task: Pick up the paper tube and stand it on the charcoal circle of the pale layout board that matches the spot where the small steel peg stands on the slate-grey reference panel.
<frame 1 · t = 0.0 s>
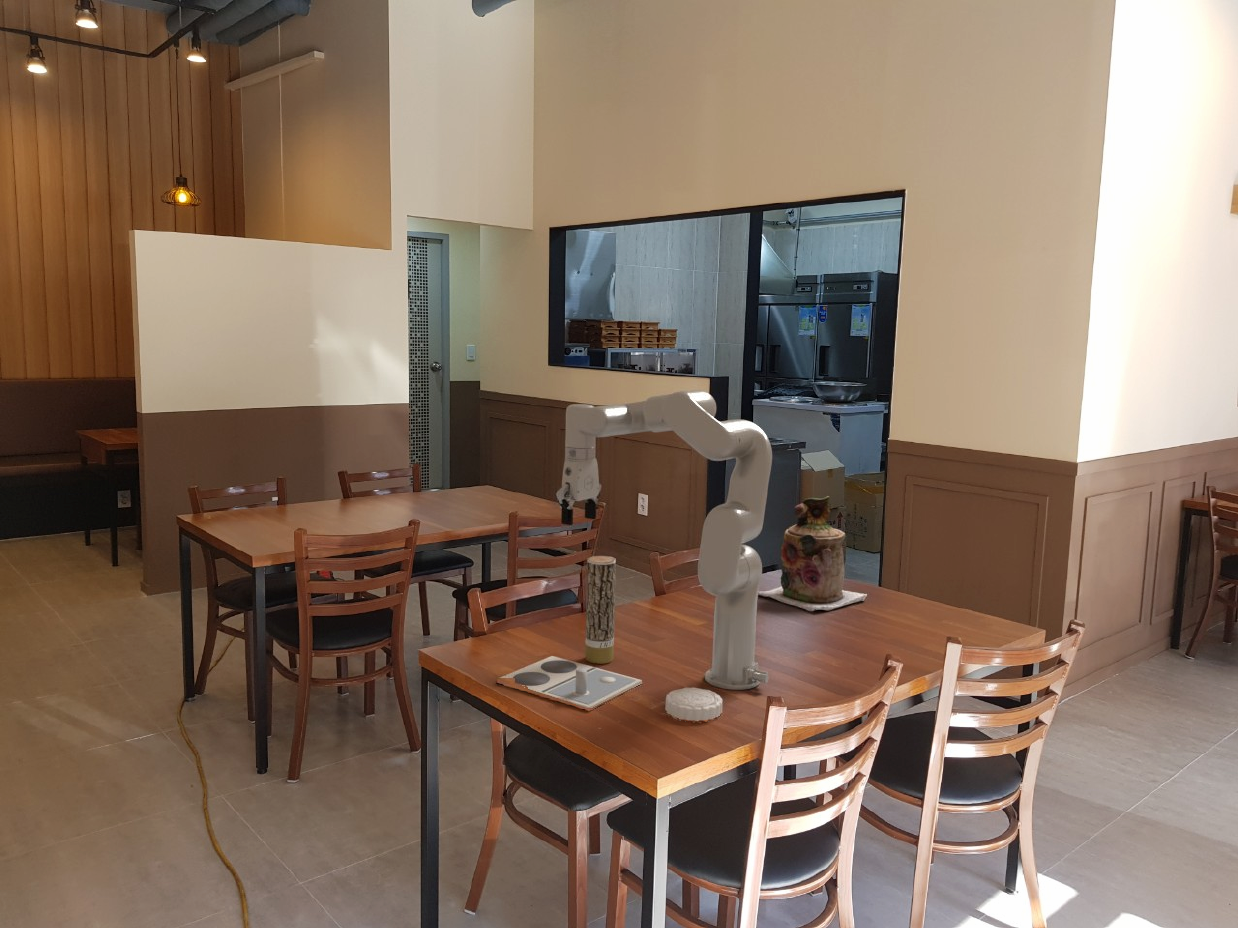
hand: (578, 521, 242), 31 cm above the table, tool pointing down, fingers open, 9 cm apart
cookie jar: (811, 599, 292), on the table
mooncake: (693, 713, 203), on the table
layout board: (569, 683, 216), on the table
paper tube: (599, 660, 232), on the table
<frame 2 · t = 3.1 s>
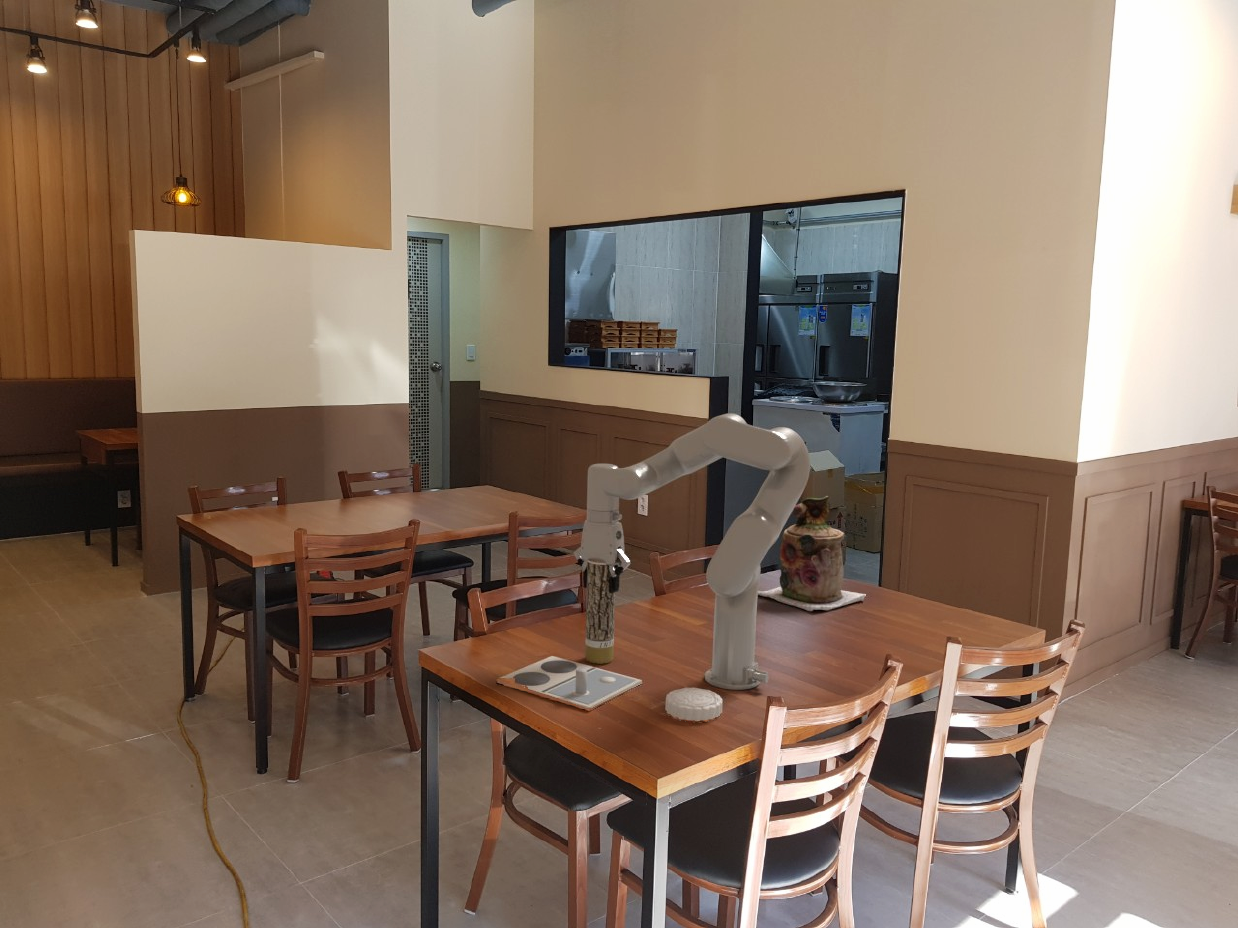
hand: (600, 588, 230), 18 cm above the table, tool pointing down, fingers closed on paper tube, 6 cm apart
paper tube: (599, 660, 232), on the table, touching gripper
everything else where it was.
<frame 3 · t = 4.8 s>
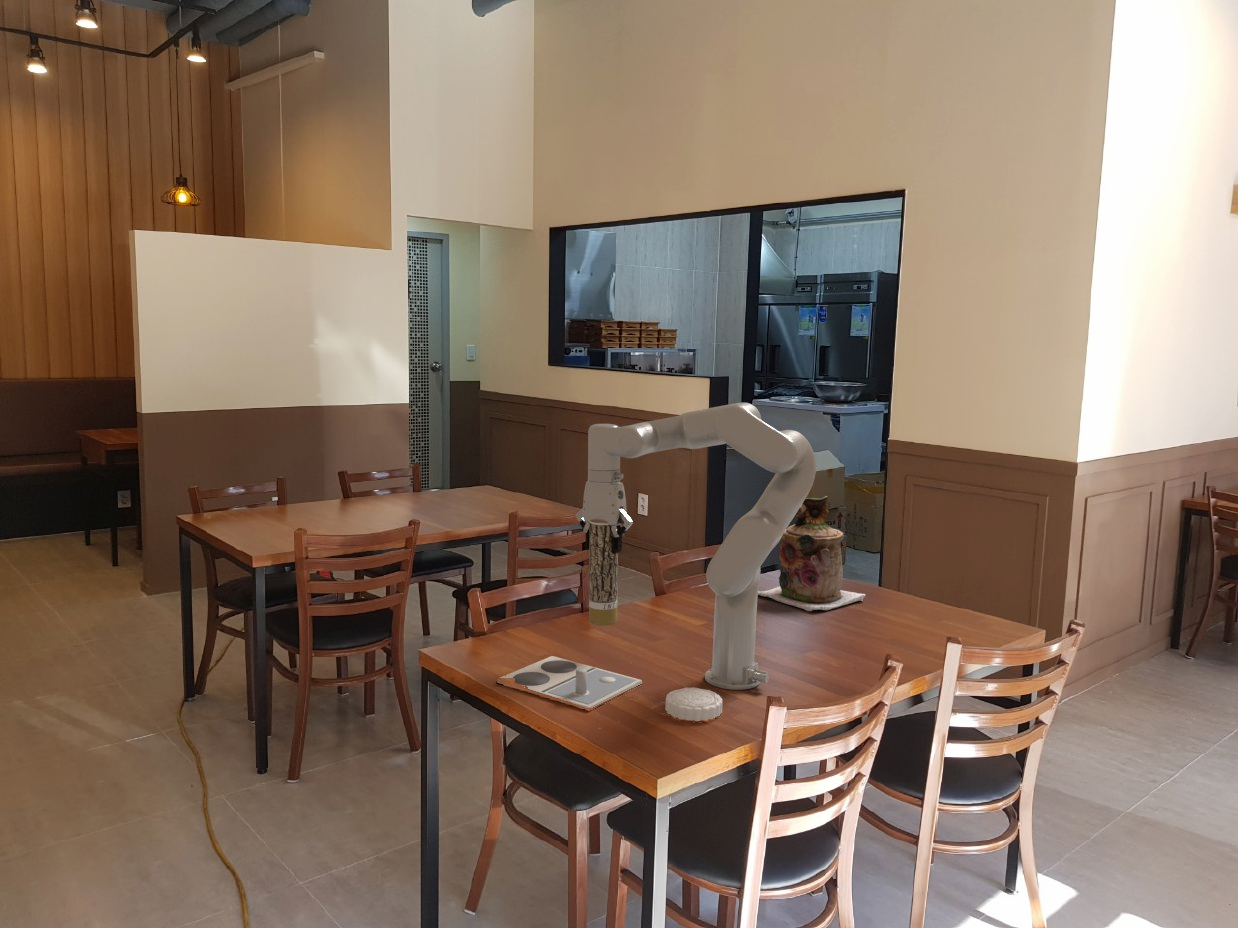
hand: (603, 550, 228), 27 cm above the table, tool pointing down, fingers closed on paper tube, 6 cm apart
paper tube: (603, 623, 231), point 9 cm above the table, touching gripper
everything else where it was.
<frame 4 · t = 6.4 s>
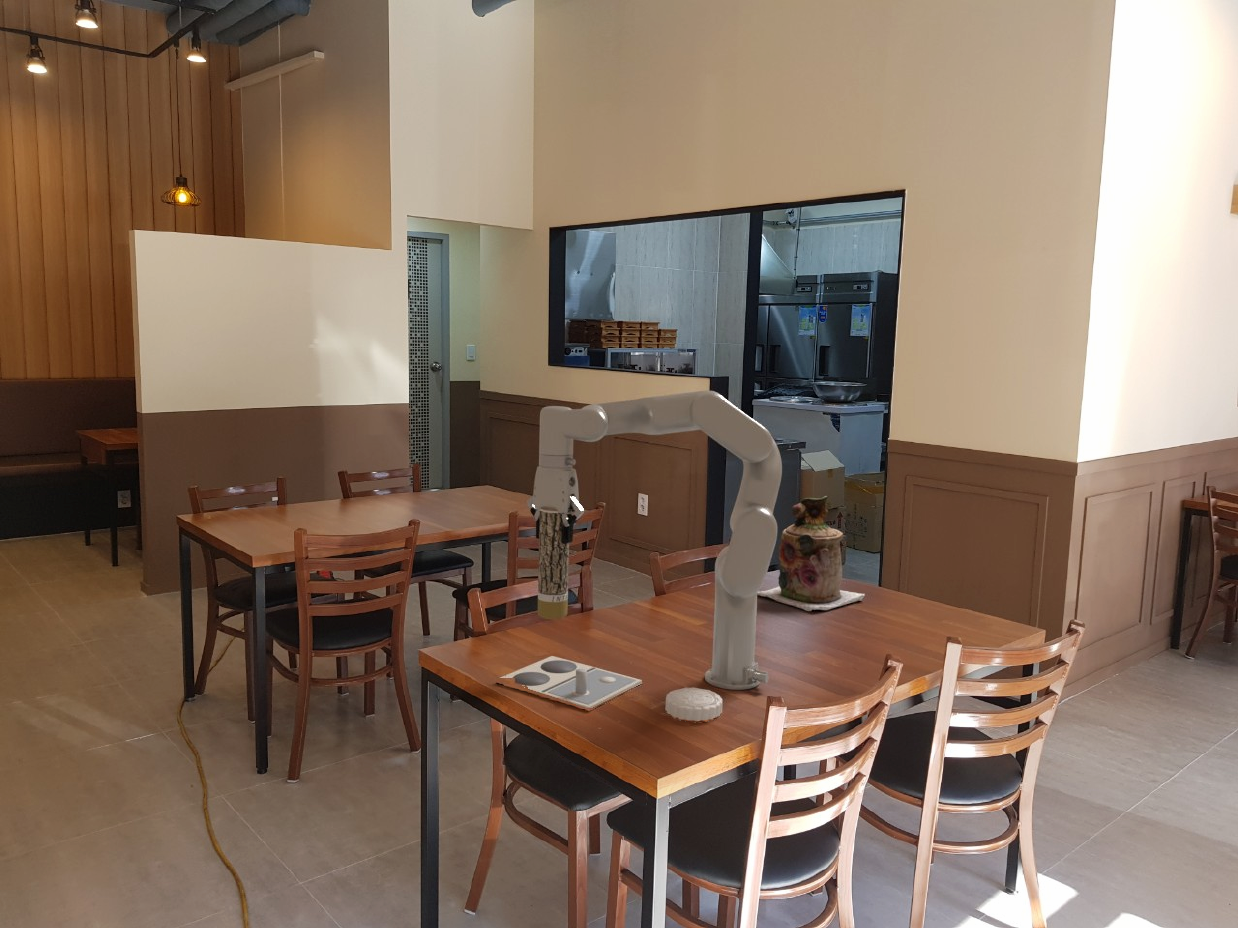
hand: (554, 539, 216), 32 cm above the table, tool pointing down, fingers closed on paper tube, 6 cm apart
paper tube: (552, 616, 219), point 14 cm above the table, touching gripper
everything else where it was.
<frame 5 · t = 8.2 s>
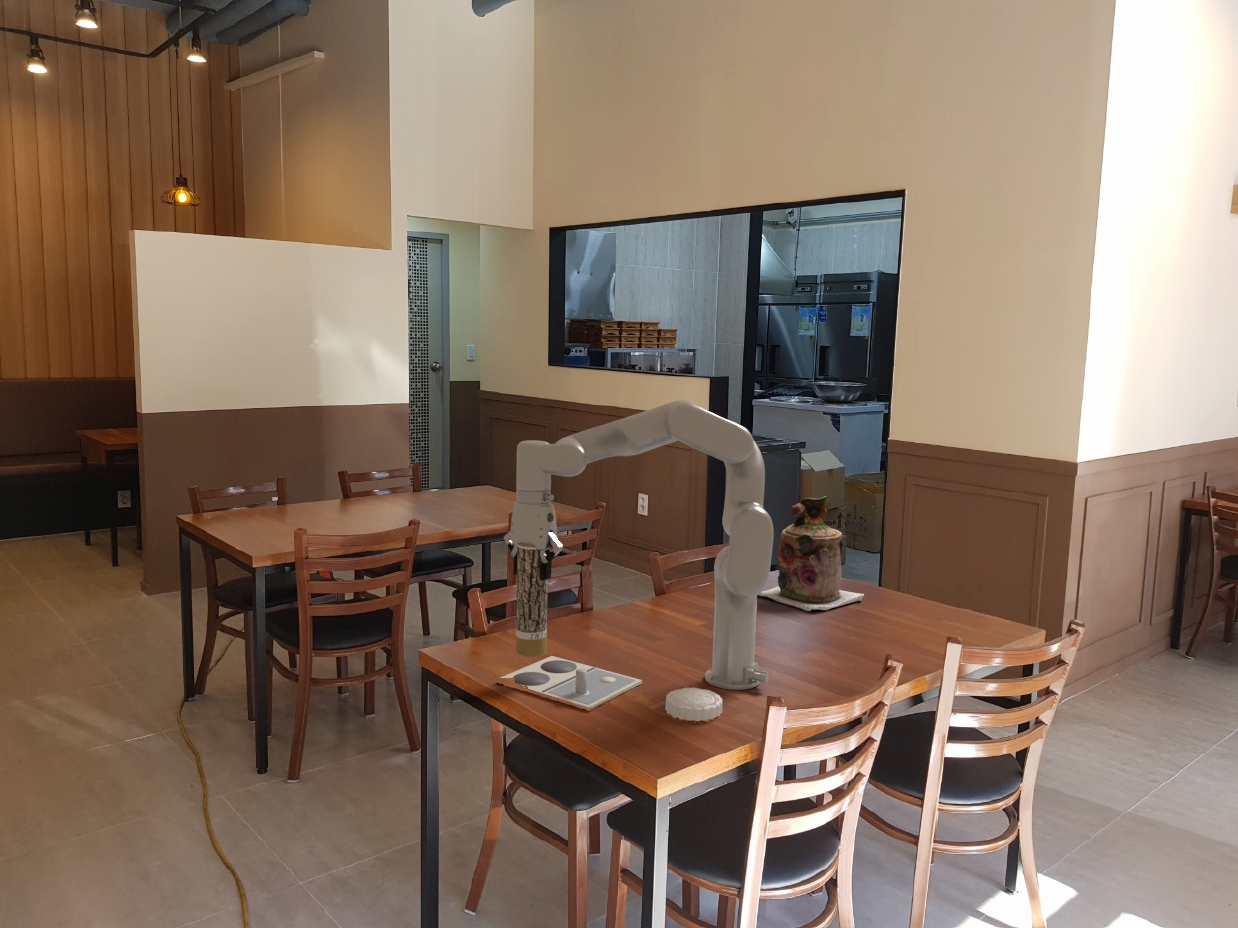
hand: (532, 575, 213), 25 cm above the table, tool pointing down, fingers closed on paper tube, 6 cm apart
paper tube: (531, 653, 215), point 7 cm above the table, touching gripper
everything else where it was.
when the fingers open (20 cm above the table, at t = 9.6 s): paper tube drops 1 cm, resting on layout board.
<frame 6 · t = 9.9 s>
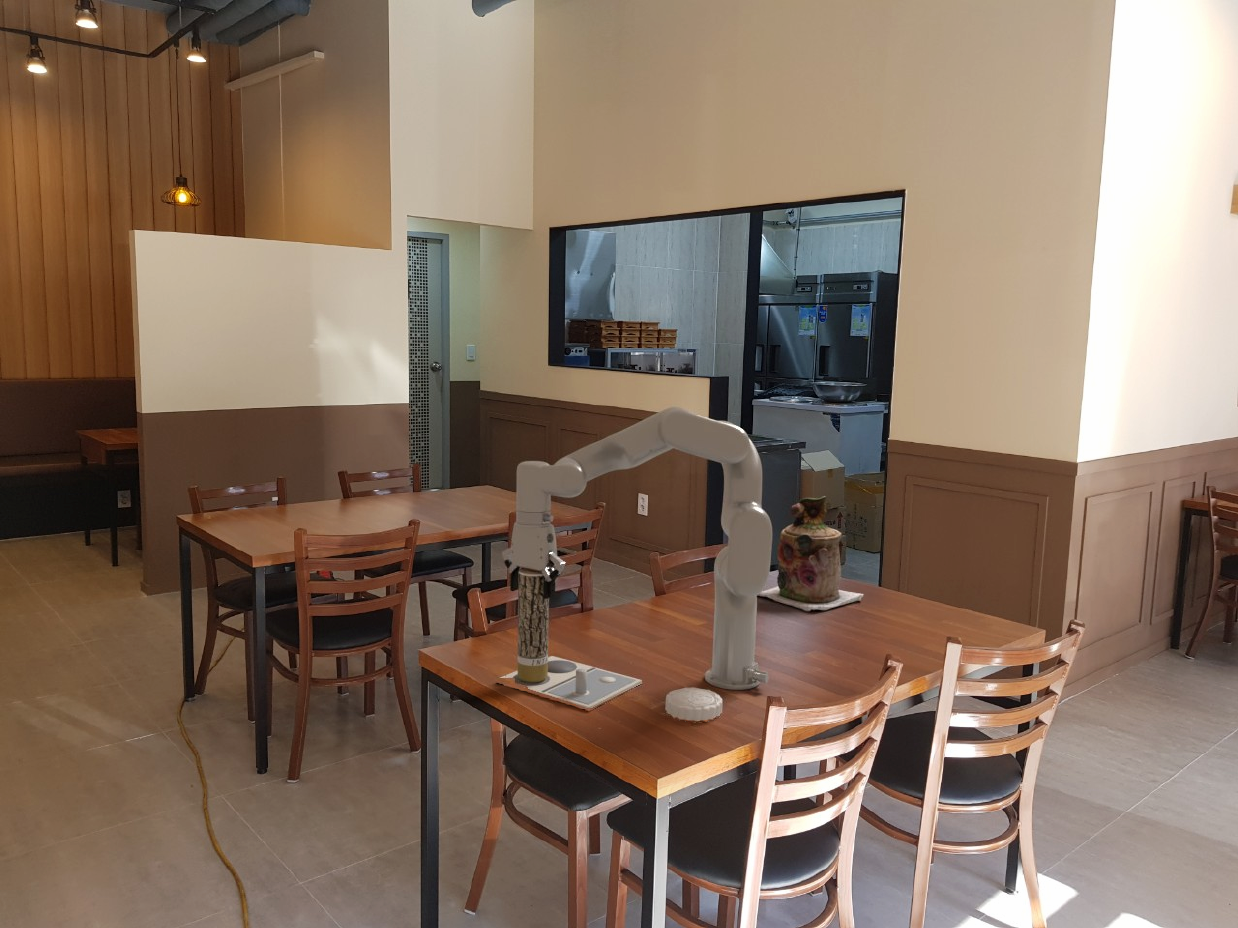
hand: (532, 593, 213), 21 cm above the table, tool pointing down, fingers open, 9 cm apart
paper tube: (532, 679, 216), point 1 cm above the table, touching layout board
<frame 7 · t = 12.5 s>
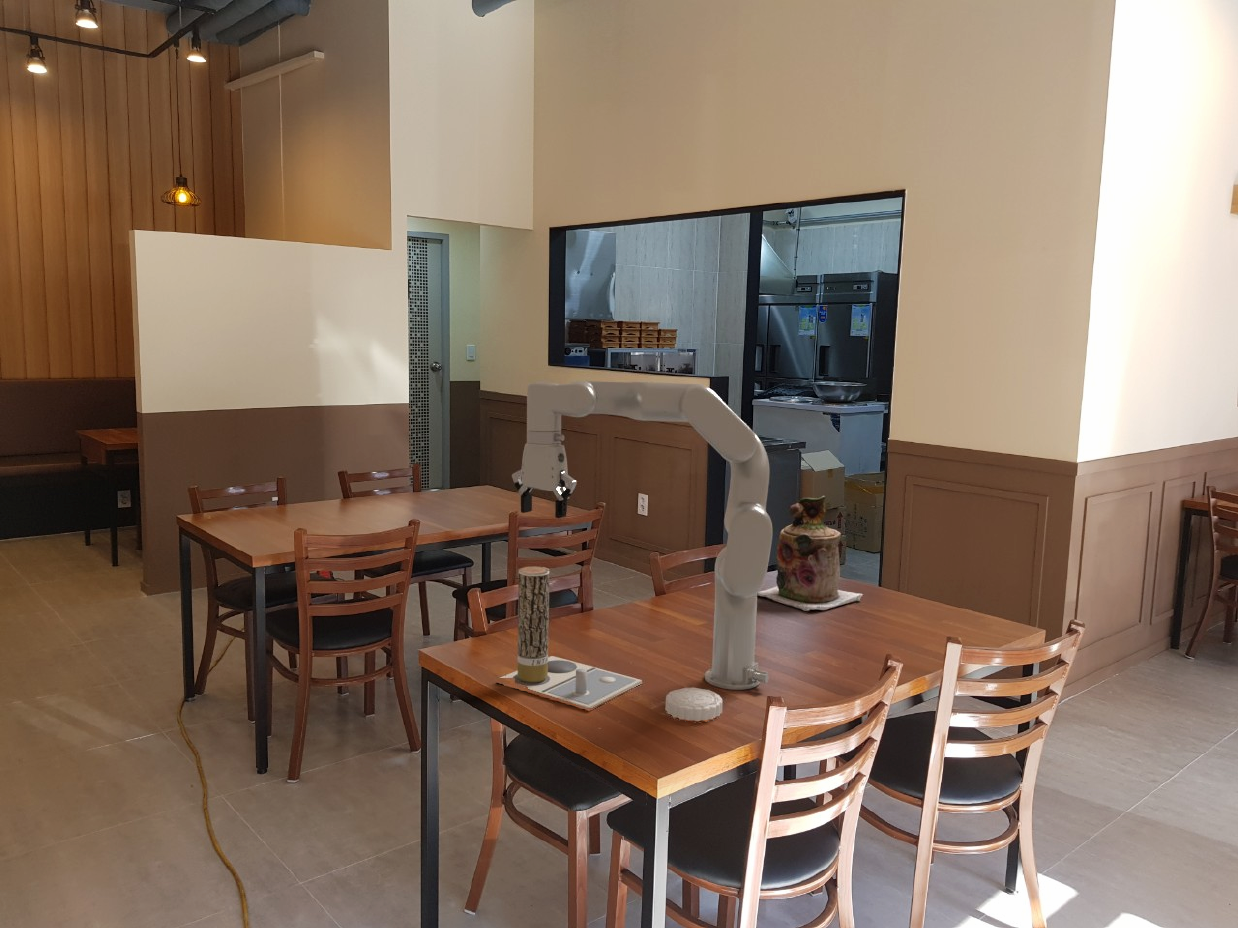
hand: (543, 514, 214), 38 cm above the table, tool pointing down, fingers open, 9 cm apart
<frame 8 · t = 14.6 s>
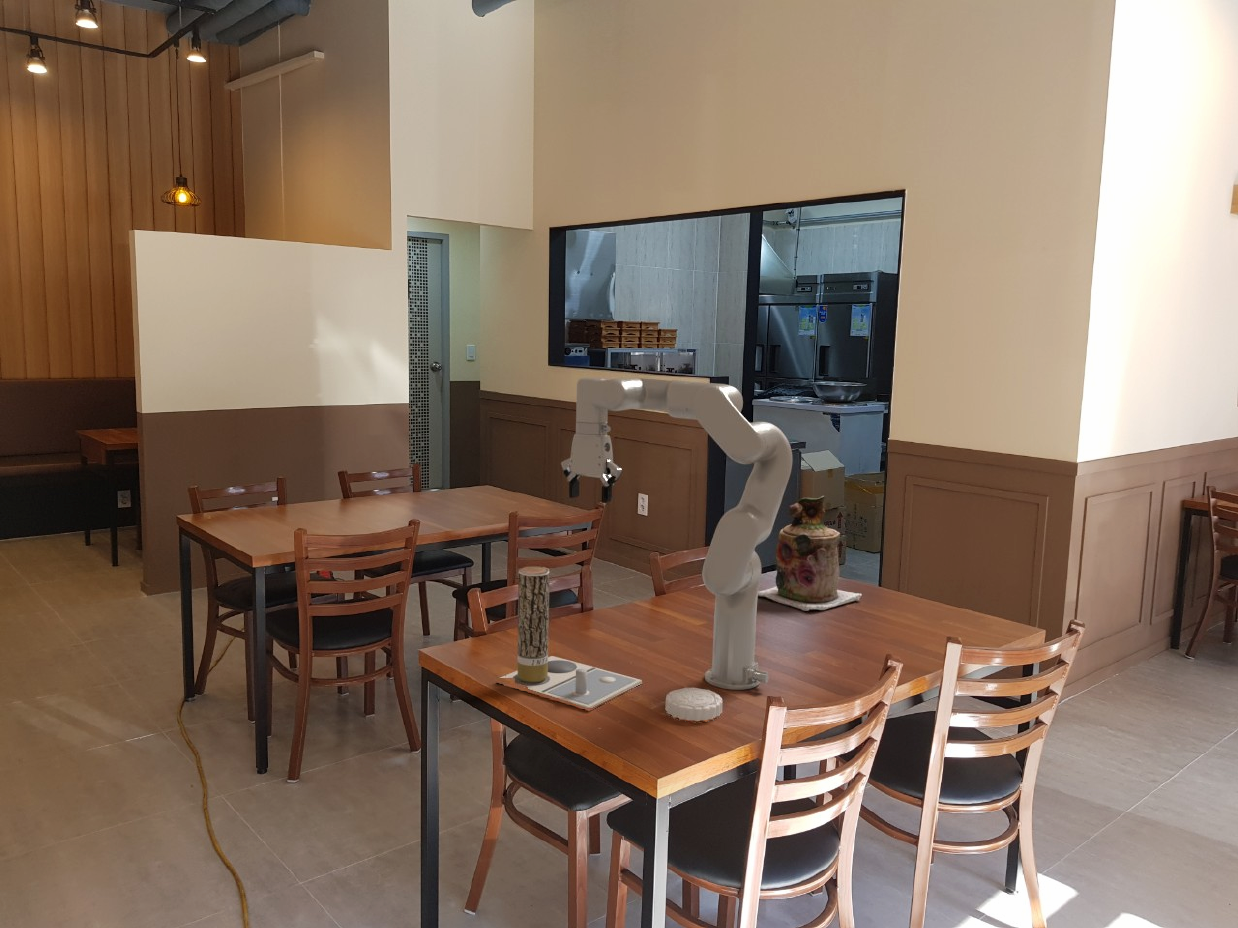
hand: (590, 499, 233), 38 cm above the table, tool pointing down, fingers open, 9 cm apart
at the end: paper tube 0.3 cm from the target spot on the layout board, point 0.9 cm above the layout board's base; paper tube tilted 0°; the gripper is holding nothing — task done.
